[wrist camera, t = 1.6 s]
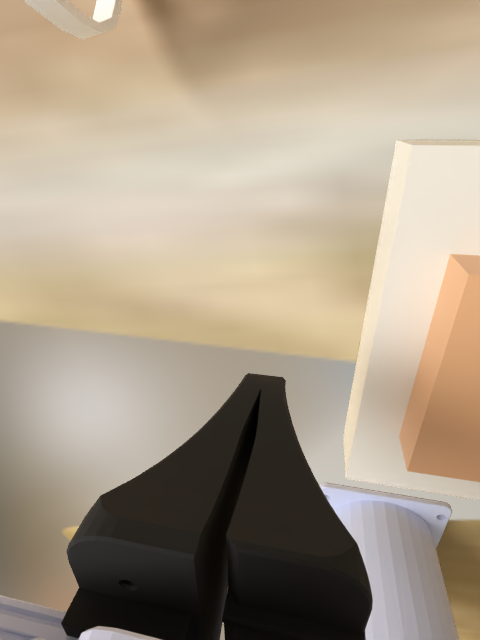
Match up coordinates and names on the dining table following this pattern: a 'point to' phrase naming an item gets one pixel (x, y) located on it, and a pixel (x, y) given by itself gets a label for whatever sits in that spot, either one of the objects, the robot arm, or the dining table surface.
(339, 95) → the dining table surface
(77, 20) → the cup
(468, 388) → the tile
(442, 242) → the cream flat block
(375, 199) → the dining table surface
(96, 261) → the dining table surface
